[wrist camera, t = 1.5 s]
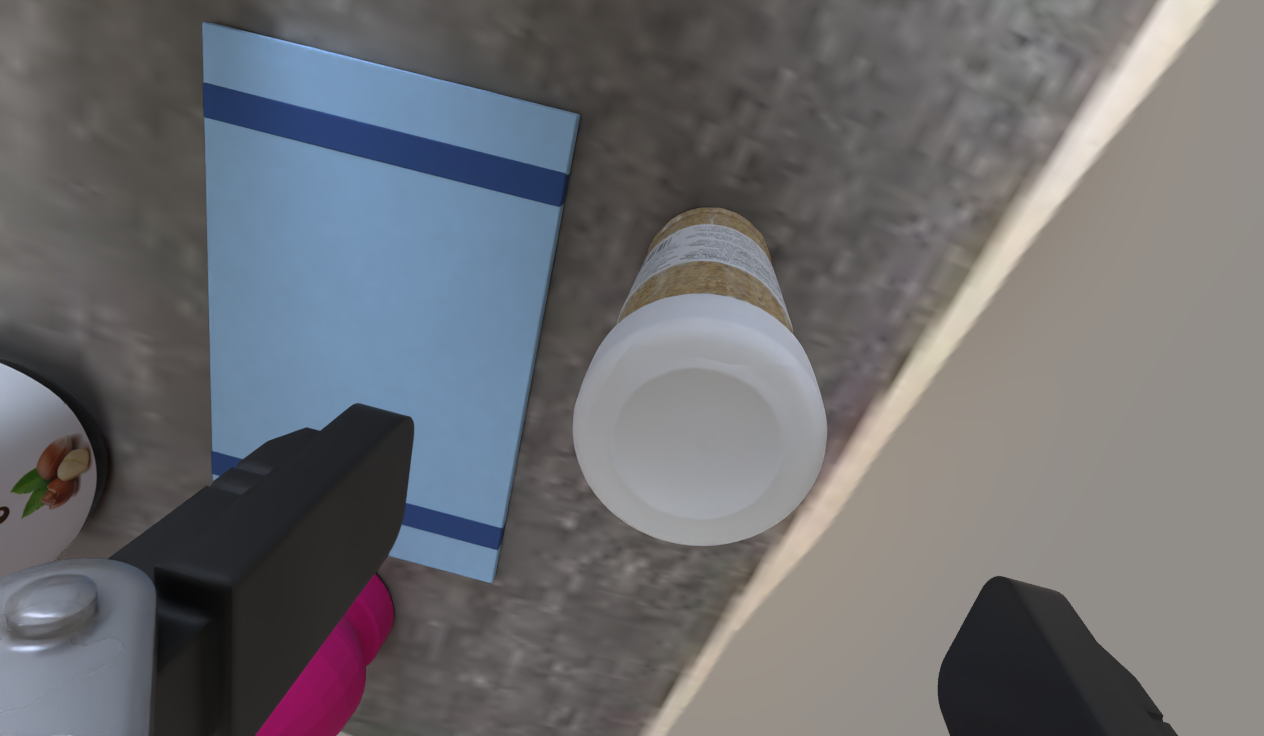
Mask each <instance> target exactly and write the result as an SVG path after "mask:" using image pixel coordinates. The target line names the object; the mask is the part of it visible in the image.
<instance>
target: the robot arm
mask: <svg viewBox="0 0 1264 736" xmlns="http://www.w3.org/2000/svg"><path fill="white" fill-rule="evenodd" d="M413 440H414V422H413V419H412V418H411V417H410V416H406V415H402V414H398V413H395V412H391V411H387V410H383V409H380V408H376V407H372V406H368V405H365V404H361V403H355V404H353V405H351V406H350V407H349V408H348V409H346V410H345V411H344V412H343V413H341V414H340V415H339V416H338V417H336V418H335V419H334V420H333V421H332V422H330V423H329V424H328V425H327V426H325V427H324V428H323V429H322V430H320V431H319V430H315V429H311V428H308V427H305V428H303V429H300V430H297V431H294V432H291V433H289V434H286V435H283V436H280V437H277V438H275V439H272V440H269V441H267V442H265V443H264V444H263V445H261V446H260V447H259V448H257V449H256V450H255V451H253V452H252V453H250V454H249V455H248V456H246V457H245V458H244V459H242V460H241V461H240V462H238V465H237V467H236V468H234V467H232V468H230V469H229V470H227V471H226V472H225V473H223V474H222V475H221V476H219V477H218V478H217V479H215V480H214V481H213V484H212V486H211V487H209V486H206V487H204V488H203V489H202V490H200V491H199V492H198V493H196V494H195V495H194V496H192V497H191V498H190V499H188V500H187V501H186V502H184V503H183V504H182V505H180V506H179V507H177V508H176V509H175V510H173V511H172V512H171V513H169V514H168V515H167V516H165V517H164V518H163V519H161V520H160V521H159V522H157V523H156V524H154V525H153V526H152V527H150V528H149V529H148V530H146V531H145V532H144V533H142V534H141V535H140V536H138V537H137V538H136V539H134V540H133V541H131V542H130V543H129V544H127V545H126V546H125V547H123V548H122V549H121V550H119V551H118V552H117V553H115V554H114V555H113V556H111V557H110V558H109V559H101V558H78V559H67V560H61V561H55V562H49V563H45V564H41V565H37V566H33V567H30V568H27V569H24V570H21V571H18V572H15V573H12V574H10V575H8V576H5V577H3V578H1V579H0V736H255V735H256V734H257V733H258V731H259V730H260V728H261V727H262V726H263V724H264V723H265V722H266V720H267V719H268V718H269V716H270V715H271V714H272V712H273V711H274V709H275V708H276V707H277V705H278V704H279V703H280V701H281V700H282V699H283V697H284V696H285V695H286V693H287V692H288V691H289V689H290V688H291V686H292V685H293V684H294V682H295V681H296V680H297V678H298V677H299V676H300V674H301V673H302V672H303V670H304V669H305V667H306V666H307V665H308V663H309V662H310V661H311V659H312V658H313V657H314V655H315V654H316V653H317V651H318V650H319V649H320V647H321V646H322V644H323V643H324V642H325V640H326V639H327V638H328V636H329V635H330V634H331V632H332V631H333V630H334V628H335V627H336V625H337V624H338V623H339V621H340V620H341V619H342V617H343V616H344V615H345V613H346V612H347V611H348V609H349V608H350V606H351V605H352V604H353V602H354V601H355V600H356V598H357V597H358V596H359V594H360V593H361V592H362V590H363V589H364V588H365V586H366V585H367V583H368V582H369V581H370V579H371V578H372V577H373V575H374V574H375V573H376V571H377V570H378V569H379V567H380V566H381V564H382V563H383V562H384V560H385V559H386V558H387V556H388V555H389V553H390V551H391V550H392V548H393V546H394V544H395V542H396V539H397V537H398V534H399V532H400V529H401V526H402V522H403V518H404V513H405V507H406V498H407V490H408V482H409V474H410V465H411V457H412V449H413ZM938 700H939V705H940V709H941V712H942V715H943V718H944V720H945V723H946V725H947V729H948V731H949V734H950V736H1178V735H1177V734H1176V732H1175V731H1174V730H1173V728H1172V727H1171V726H1170V724H1168V723H1165V722H1163V720H1162V718H1163V715H1162V713H1161V712H1160V711H1159V709H1158V708H1157V706H1156V705H1155V704H1154V702H1153V701H1152V700H1151V698H1150V697H1149V696H1148V694H1147V693H1146V691H1145V690H1144V689H1143V687H1142V686H1141V684H1140V683H1139V682H1138V680H1137V679H1136V678H1135V677H1134V676H1133V675H1132V674H1131V673H1130V672H1129V671H1128V670H1127V669H1125V667H1123V666H1122V665H1121V664H1120V663H1119V662H1118V661H1117V660H1116V659H1115V658H1114V657H1113V656H1112V655H1110V654H1109V653H1108V652H1107V651H1106V650H1105V649H1104V648H1103V647H1102V646H1101V645H1100V644H1098V643H1097V641H1096V640H1095V638H1094V637H1093V635H1092V634H1091V633H1090V631H1089V630H1088V629H1087V627H1086V626H1085V624H1084V623H1083V621H1082V620H1081V618H1080V617H1079V616H1078V614H1077V613H1076V611H1075V610H1074V609H1073V607H1072V606H1071V604H1070V603H1069V601H1068V600H1067V599H1066V598H1065V597H1064V596H1063V595H1062V594H1061V593H1059V592H1057V591H1055V590H1051V589H1047V588H1043V587H1040V586H1036V585H1032V584H1028V583H1024V582H1021V581H1017V580H1013V579H1010V578H1006V577H1002V576H997V577H993V578H991V579H990V580H989V581H988V582H987V583H986V584H985V585H984V586H983V588H982V590H981V591H980V593H979V595H978V597H977V599H976V601H975V602H974V604H973V606H972V608H971V610H970V612H969V613H968V615H967V617H966V619H965V621H964V623H963V625H962V626H961V628H960V630H959V632H958V634H957V636H956V638H955V639H954V641H953V643H952V645H951V647H950V648H949V650H948V652H947V654H946V656H945V658H944V660H943V662H942V665H941V668H940V672H939V678H938Z"/></svg>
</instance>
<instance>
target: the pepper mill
mask: <svg viewBox="0 0 1264 736" xmlns="http://www.w3.org/2000/svg"><path fill="white" fill-rule="evenodd" d="M393 620H394V608H393V604H392V601H391V597H390V594H389V592H388V590H387V589H386V587H385V586H384V584H383V582H382V581H381V579H380V578H379V577H378V576H377V575H376V574H374V575H373V577H372V578H371V579H370V581H369V582H368V583H367V585H366V586H365V588H364V589H363V590H362V592H361V593H360V594H359V596H358V597H357V598H356V600H355V601H354V602H353V604H352V605H351V606H350V608H349V609H348V611H347V612H346V613H345V615H344V616H343V617H342V619H341V620H340V621H339V623H338V624H337V625H336V627H335V628H334V630H333V631H332V632H331V634H330V635H329V636H328V638H327V639H326V640H325V642H324V643H323V644H322V646H321V647H320V649H319V650H318V651H317V653H316V654H315V655H314V657H313V658H312V659H311V661H310V662H309V663H308V665H307V666H306V667H305V669H304V670H303V672H302V673H301V674H300V676H299V677H298V678H297V680H296V681H295V682H294V684H293V685H292V686H291V688H290V689H289V691H288V692H287V693H286V695H285V696H284V697H283V699H282V700H281V701H280V703H279V704H278V705H277V707H276V708H275V709H274V711H273V712H272V714H271V715H270V716H269V718H268V719H267V720H266V722H265V723H264V724H263V726H262V727H261V728H260V730H259V731H258V733H257V734H256V735H255V736H336V735H337V734H338V733H339V732H340V731H341V730H342V728H343V727H344V725H345V724H346V723H347V721H348V720H349V719H350V717H351V716H352V714H353V713H354V712H355V710H356V709H357V707H358V705H359V703H360V701H361V698H362V695H363V693H364V688H365V681H366V668H365V667H366V666H367V665H369V664H370V663H371V661H372V660H373V659H374V658H375V656H376V654H377V653H378V651H379V649H380V648H381V646H382V645H383V643H384V641H385V640H386V638H387V636H388V635H389V633H390V631H391V629H392V624H393Z"/></svg>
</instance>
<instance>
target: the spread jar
mask: <svg viewBox="0 0 1264 736" xmlns="http://www.w3.org/2000/svg"><path fill="white" fill-rule="evenodd" d="M107 474H108V454H107V449H106V445H105V442H104V439H103V436H102V434H101V432H100V430H99V428H98V426H97V424H96V423H95V421H94V419H93V418H92V417H91V415H90V414H89V413H88V411H87V410H86V409H85V408H84V406H83V405H82V404H81V403H80V402H79V401H78V400H77V399H76V398H75V397H73V396H72V395H71V394H70V393H69V392H68V391H66V390H65V389H64V388H62V387H61V386H60V385H58V384H57V383H55V382H54V381H52V380H50V379H49V378H47V377H45V376H43V375H41V374H40V373H37V372H35V371H33V370H31V369H29V368H26V367H24V366H22V365H19V364H17V363H14V362H11V361H7V360H4V359H0V579H1V578H3V577H5V576H8V575H10V574H12V573H15V572H18V571H21V570H24V569H27V568H30V567H33V566H37V565H41V564H45V563H49V562H52V561H53V560H54V559H55V558H56V557H57V556H58V555H59V554H61V553H62V552H63V551H64V550H65V549H66V548H67V547H68V546H69V545H70V544H71V543H72V542H73V540H74V539H75V538H76V536H77V535H78V534H79V532H80V531H81V530H82V528H83V527H84V525H85V524H86V523H87V521H88V519H89V518H90V516H91V514H92V512H93V510H94V508H95V506H96V505H97V503H98V501H99V499H100V497H101V494H102V492H103V489H104V486H105V483H106V479H107Z"/></svg>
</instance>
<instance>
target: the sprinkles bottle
mask: <svg viewBox="0 0 1264 736" xmlns="http://www.w3.org/2000/svg"><path fill="white" fill-rule="evenodd" d="M573 440H574V447H575V452H576V456H577V459H578V463H579V465H580V467H581V470H582V472H583V475H584V477H585V479H586V481H587V482H588V484H589V486H590V487H591V489H592V490H593V492H594V493H595V495H596V496H597V497H598V498H599V499H600V501H601V502H602V503H603V504H604V505H605V506H606V507H607V508H608V509H609V510H610V511H611V512H612V513H614V514H615V515H616V516H617V517H618V518H620V519H621V520H622V521H624V522H625V523H627V524H628V525H630V526H632V527H633V528H635V529H637V530H639V531H641V532H643V533H645V534H647V535H650V536H652V537H655V538H657V539H660V540H664V541H668V542H672V543H676V544H684V545H694V546H711V545H721V544H728V543H732V542H737V541H740V540H744V539H747V538H750V537H753V536H755V535H757V534H759V533H762V532H764V531H766V530H768V529H769V528H771V527H772V526H774V525H775V524H777V523H779V522H780V521H782V520H783V519H784V518H785V517H786V516H788V515H789V514H790V513H791V512H792V511H793V510H795V509H796V508H797V506H798V505H799V504H800V503H801V502H802V501H803V499H804V498H805V497H806V496H807V494H808V493H809V491H810V490H811V488H812V486H813V485H814V483H815V481H816V479H817V477H818V475H819V472H820V470H821V467H822V464H823V460H824V455H825V451H826V441H827V420H826V415H825V409H824V404H823V401H822V397H821V394H820V390H819V387H818V384H817V380H816V378H815V375H814V372H813V369H812V366H811V364H810V361H809V359H808V357H807V355H806V353H805V351H804V349H803V348H802V346H801V344H800V343H799V342H798V340H797V339H796V338H795V336H794V335H793V328H792V324H791V321H790V318H789V315H788V312H787V309H786V306H785V303H784V300H783V296H782V293H781V290H780V287H779V284H778V281H777V278H776V275H775V272H774V270H773V267H772V263H771V256H770V252H769V250H768V248H767V245H766V243H765V240H764V238H763V236H762V234H761V233H760V232H759V231H758V230H757V229H756V228H755V227H754V226H753V225H752V224H751V222H749V221H748V220H747V219H745V218H744V217H742V216H741V215H739V214H737V213H735V212H731V211H729V210H726V209H723V208H709V207H705V208H697V209H693V210H689V211H687V212H684V213H682V214H679V215H678V216H676V217H674V218H673V219H671V220H670V221H669V222H668V223H667V224H666V225H665V226H664V227H663V228H661V230H660V231H659V232H658V234H657V235H656V236H655V237H654V239H653V240H652V242H651V244H650V246H649V249H648V253H647V256H646V259H645V261H644V263H643V265H642V267H641V269H640V271H639V273H638V275H637V277H636V280H635V282H634V284H633V286H632V288H631V290H630V292H629V295H628V297H627V299H626V301H625V303H624V306H623V308H622V310H621V312H620V315H619V317H618V320H617V324H616V326H615V327H614V328H613V329H612V330H611V332H610V333H609V334H608V335H607V336H606V337H605V339H604V340H603V342H602V343H601V345H600V346H599V348H598V349H597V351H596V353H595V355H594V357H593V359H592V362H591V364H590V366H589V368H588V370H587V373H586V375H585V377H584V380H583V383H582V386H581V388H580V391H579V395H578V398H577V401H576V404H575V409H574V417H573Z"/></svg>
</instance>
